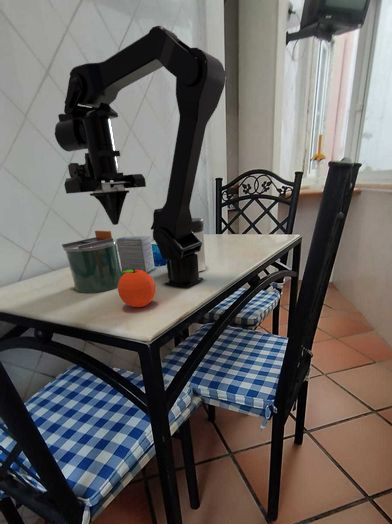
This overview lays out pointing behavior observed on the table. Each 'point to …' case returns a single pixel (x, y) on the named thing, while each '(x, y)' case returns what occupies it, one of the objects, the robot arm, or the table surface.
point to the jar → (198, 231)
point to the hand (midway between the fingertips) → (115, 224)
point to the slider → (99, 236)
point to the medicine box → (135, 253)
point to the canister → (93, 265)
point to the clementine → (136, 288)
